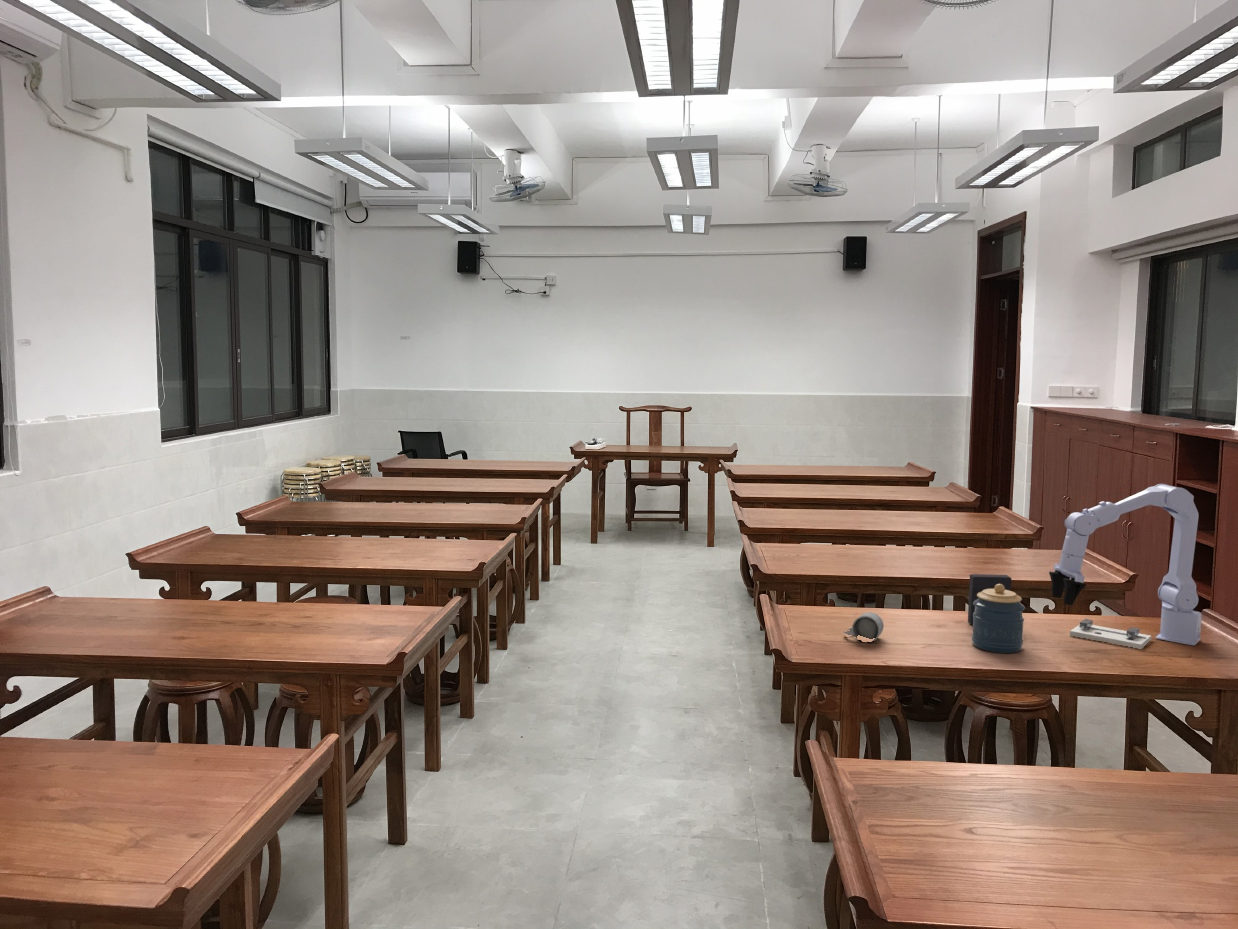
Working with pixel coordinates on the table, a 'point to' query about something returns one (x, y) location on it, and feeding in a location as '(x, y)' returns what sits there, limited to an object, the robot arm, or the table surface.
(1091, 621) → the block
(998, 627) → the canister
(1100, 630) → the board
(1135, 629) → the fixed point
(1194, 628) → the robot arm
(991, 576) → the calculator
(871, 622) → the ceramic mug
